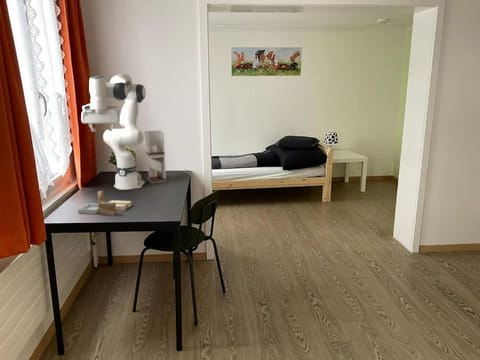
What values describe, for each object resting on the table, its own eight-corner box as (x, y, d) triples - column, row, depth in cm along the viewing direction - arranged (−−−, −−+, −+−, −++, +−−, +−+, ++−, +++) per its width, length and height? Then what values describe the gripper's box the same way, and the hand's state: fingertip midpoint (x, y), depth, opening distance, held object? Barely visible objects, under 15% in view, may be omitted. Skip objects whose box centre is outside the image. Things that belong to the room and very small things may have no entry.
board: (111, 205, 213) (111, 200, 212) (131, 206, 211) (131, 201, 211) (103, 210, 203) (102, 205, 203) (123, 211, 202) (123, 206, 201)
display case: (147, 179, 271) (144, 131, 262) (162, 178, 275) (159, 130, 267) (151, 183, 261) (147, 133, 252) (166, 181, 265) (163, 132, 257)
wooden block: (102, 212, 199) (101, 202, 197) (116, 213, 197) (115, 202, 196) (99, 214, 196) (98, 203, 194) (113, 215, 195) (112, 204, 193)
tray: (88, 207, 208) (88, 203, 207) (105, 208, 206) (105, 204, 206) (78, 213, 198) (78, 209, 197) (96, 214, 196) (95, 209, 196)
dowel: (100, 204, 213) (99, 190, 211) (105, 204, 213) (104, 191, 211) (97, 205, 210) (96, 192, 209) (102, 206, 210) (101, 192, 208)
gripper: (120, 105, 211) (122, 130, 215) (82, 106, 209) (84, 131, 212) (118, 106, 205) (120, 131, 208) (79, 106, 203) (81, 132, 206)
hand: (102, 131), depth 210 cm, fingers open, 8 cm apart
